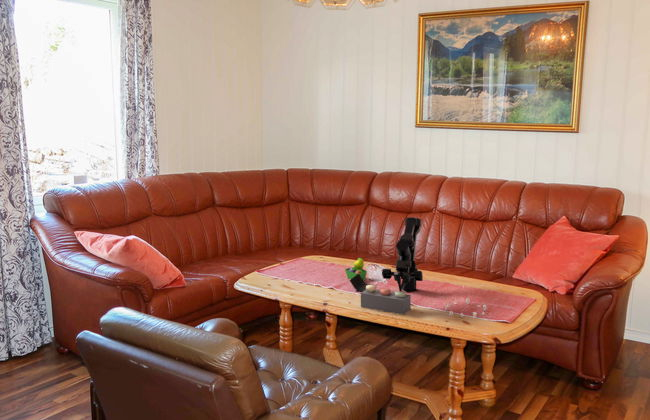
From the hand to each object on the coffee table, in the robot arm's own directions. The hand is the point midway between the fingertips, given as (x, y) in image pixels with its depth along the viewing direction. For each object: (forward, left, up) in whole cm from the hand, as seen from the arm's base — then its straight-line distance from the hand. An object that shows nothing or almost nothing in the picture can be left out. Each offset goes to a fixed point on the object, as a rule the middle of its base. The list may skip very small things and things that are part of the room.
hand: (400, 291), depth 267 cm
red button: (+5, -6, -5) cm, 9 cm away
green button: (0, +1, -5) cm, 5 cm away
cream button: (+9, -12, -4) cm, 15 cm away
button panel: (+5, -6, -9) cm, 12 cm away
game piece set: (-27, +13, -10) cm, 31 cm away
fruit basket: (-3, -52, -10) cm, 53 cm away
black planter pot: (+1, -36, -10) cm, 37 cm away
